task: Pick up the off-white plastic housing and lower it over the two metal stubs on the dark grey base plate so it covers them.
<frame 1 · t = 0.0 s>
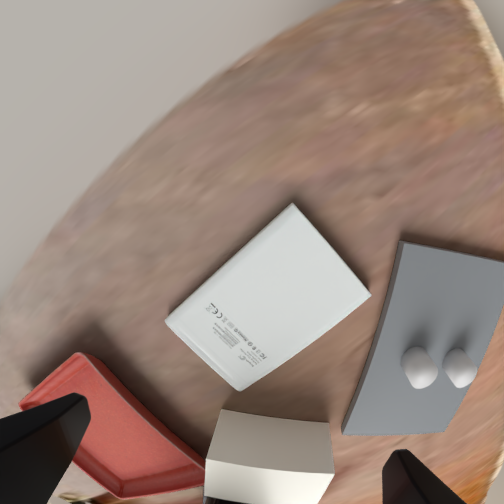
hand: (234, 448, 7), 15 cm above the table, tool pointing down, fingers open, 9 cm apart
external hard drive: (265, 302, 22), on the table
plant saucer: (114, 427, 28), on the table
base plate: (429, 353, 21), on the table
housing: (270, 439, 25), on the table
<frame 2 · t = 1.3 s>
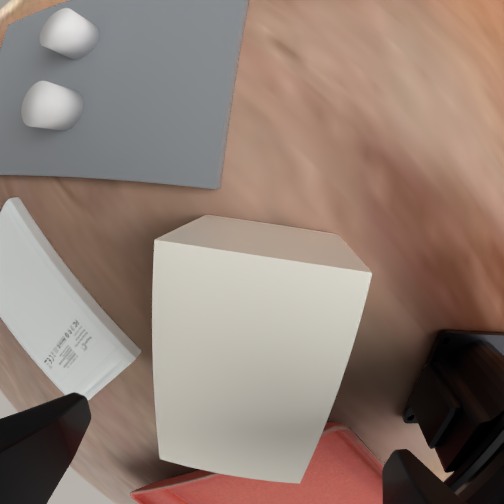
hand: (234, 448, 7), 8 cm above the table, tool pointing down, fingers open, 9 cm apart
external hard drive: (51, 305, 17), on the table
plant saucer: (290, 495, 19), on the table
base plate: (84, 78, 13), on the table
housing: (257, 319, 15), on the table
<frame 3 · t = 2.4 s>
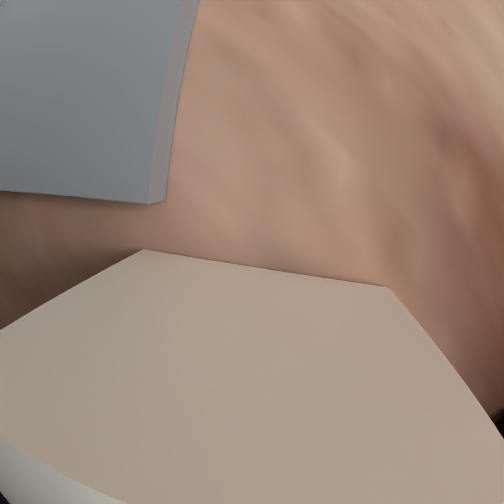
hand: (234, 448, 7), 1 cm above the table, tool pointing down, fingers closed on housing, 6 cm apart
housing: (240, 419, 8), on the table, touching gripper
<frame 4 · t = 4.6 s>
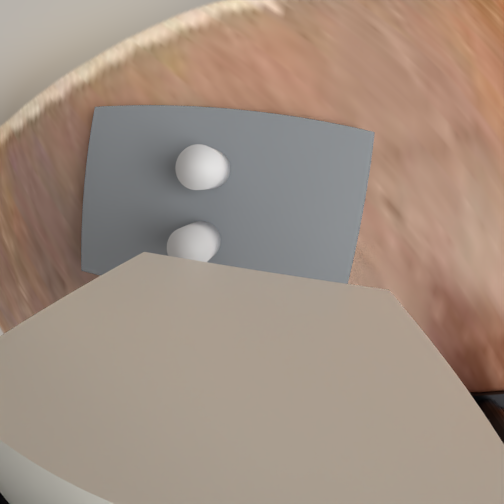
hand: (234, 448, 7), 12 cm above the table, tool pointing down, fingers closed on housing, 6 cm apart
base plate: (210, 203, 18), on the table
housing: (241, 421, 8), point 11 cm above the table, touching gripper
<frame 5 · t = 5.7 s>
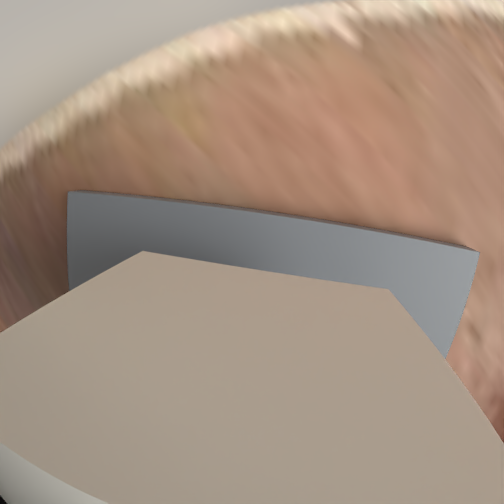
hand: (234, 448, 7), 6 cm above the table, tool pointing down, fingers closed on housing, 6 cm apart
base plate: (254, 342, 13), on the table
housing: (240, 421, 8), point 5 cm above the table, touching gripper
when the fingers open (4 cm above the table, at t = 6.6 s): housing drops 1 cm, resting on base plate.
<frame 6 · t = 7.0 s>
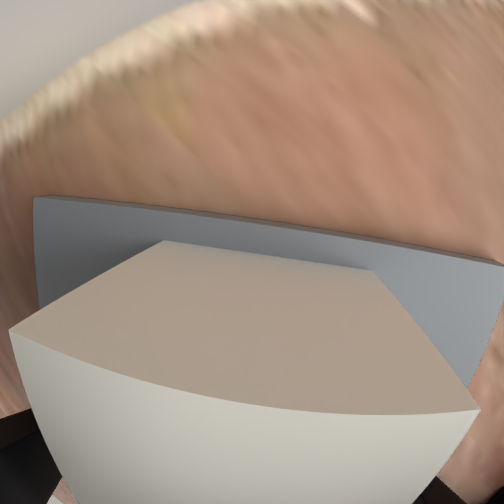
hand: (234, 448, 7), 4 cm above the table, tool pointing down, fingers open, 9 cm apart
base plate: (249, 373, 11), on the table
housing: (247, 391, 10), point 1 cm above the table, touching base plate
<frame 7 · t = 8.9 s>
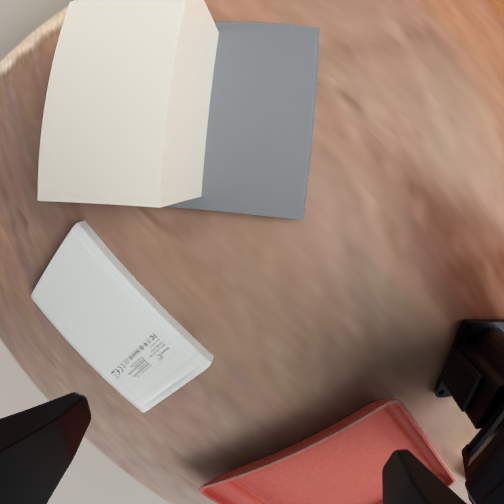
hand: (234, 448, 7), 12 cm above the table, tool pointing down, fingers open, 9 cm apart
external hard drive: (117, 320, 21), on the table
plant saucer: (338, 473, 23), on the table
base plate: (162, 111, 16), on the table
housing: (156, 109, 15), point 1 cm above the table, touching base plate
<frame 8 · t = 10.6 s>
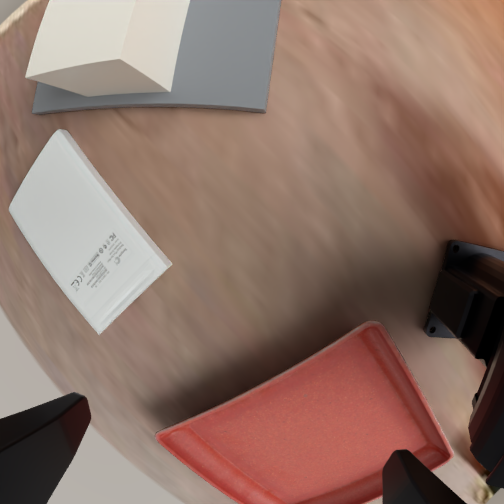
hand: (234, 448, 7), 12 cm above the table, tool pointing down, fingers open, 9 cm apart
external hard drive: (84, 230, 20), on the table
plant saucer: (317, 435, 22), on the table
base plate: (146, 32, 16), on the table
housing: (140, 27, 15), point 1 cm above the table, touching base plate
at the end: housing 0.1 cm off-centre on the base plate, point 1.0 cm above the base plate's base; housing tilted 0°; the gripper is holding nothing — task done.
